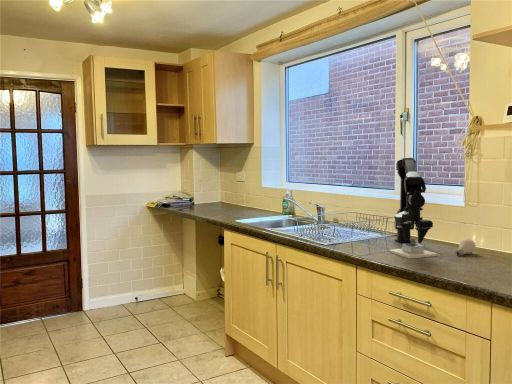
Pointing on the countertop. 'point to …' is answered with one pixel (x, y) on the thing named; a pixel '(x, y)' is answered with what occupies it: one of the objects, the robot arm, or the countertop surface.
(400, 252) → the plate
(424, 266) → the countertop surface
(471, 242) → the light bulb
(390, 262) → the countertop surface
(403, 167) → the robot arm
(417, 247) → the link
